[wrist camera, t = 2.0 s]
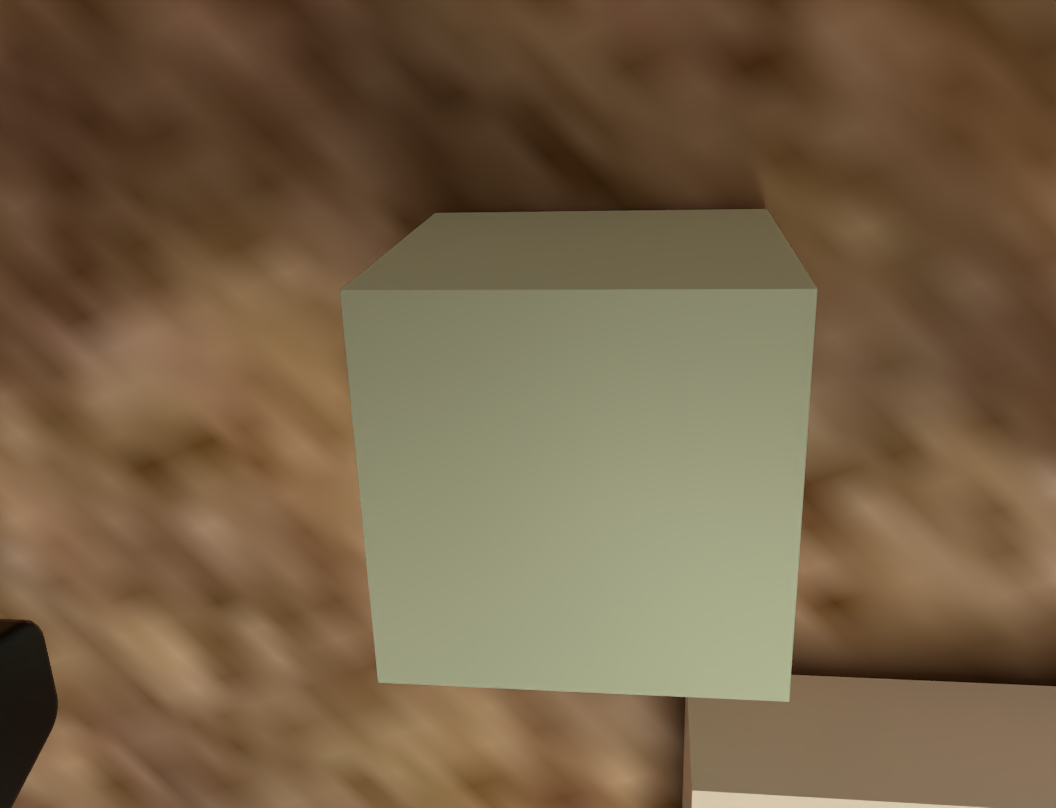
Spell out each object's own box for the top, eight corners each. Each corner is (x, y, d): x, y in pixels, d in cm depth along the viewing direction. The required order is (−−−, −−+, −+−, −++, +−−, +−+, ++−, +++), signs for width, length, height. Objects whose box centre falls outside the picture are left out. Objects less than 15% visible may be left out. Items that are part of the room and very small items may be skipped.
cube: (454, 506, 17) (377, 682, 13) (435, 212, 15) (339, 289, 11) (751, 513, 17) (788, 701, 12) (767, 208, 15) (817, 289, 10)
